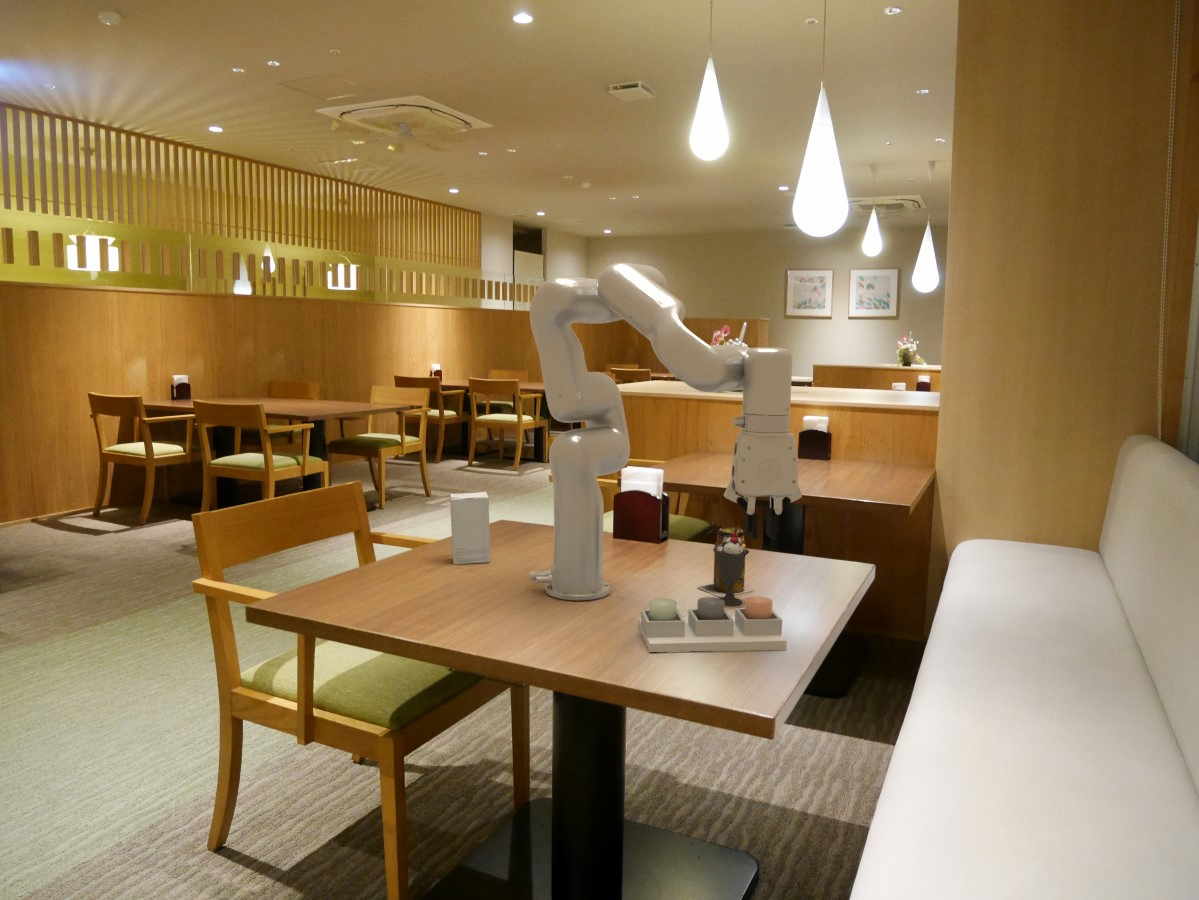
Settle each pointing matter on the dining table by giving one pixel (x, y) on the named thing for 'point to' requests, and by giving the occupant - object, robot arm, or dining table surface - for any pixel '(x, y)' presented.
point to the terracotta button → (758, 608)
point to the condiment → (718, 585)
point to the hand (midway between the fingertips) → (761, 536)
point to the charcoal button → (710, 608)
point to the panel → (712, 633)
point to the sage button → (662, 609)
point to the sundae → (731, 565)
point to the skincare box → (470, 527)
